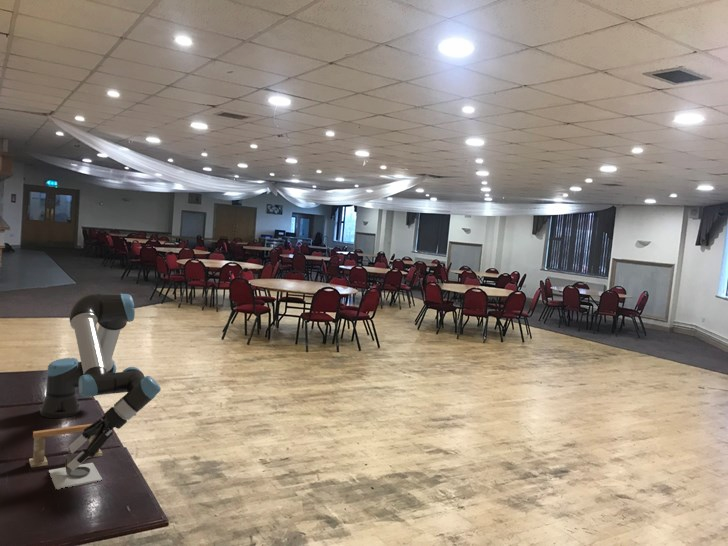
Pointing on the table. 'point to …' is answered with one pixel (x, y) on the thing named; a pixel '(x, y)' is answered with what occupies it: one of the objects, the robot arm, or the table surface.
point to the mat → (66, 480)
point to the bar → (59, 431)
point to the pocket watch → (79, 470)
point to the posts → (40, 450)
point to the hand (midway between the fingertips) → (69, 459)
